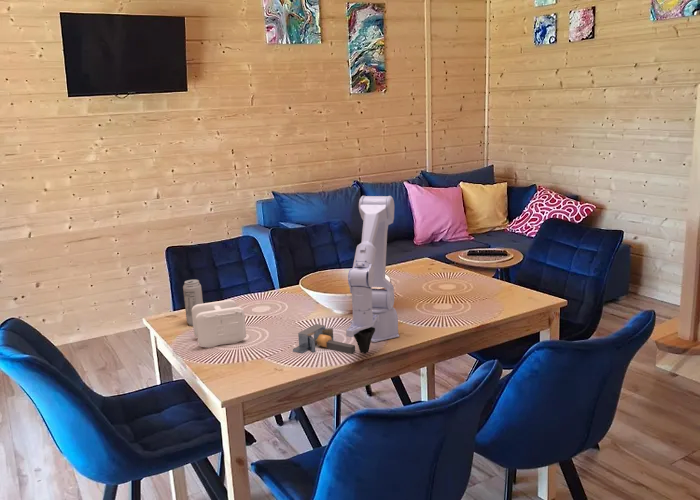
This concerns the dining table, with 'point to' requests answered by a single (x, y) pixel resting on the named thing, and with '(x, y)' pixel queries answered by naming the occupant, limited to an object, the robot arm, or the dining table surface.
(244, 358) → the dining table surface
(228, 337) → the cable organizer
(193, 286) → the energy drink can
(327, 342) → the grey and orange tool
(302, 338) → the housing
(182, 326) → the dining table surface
